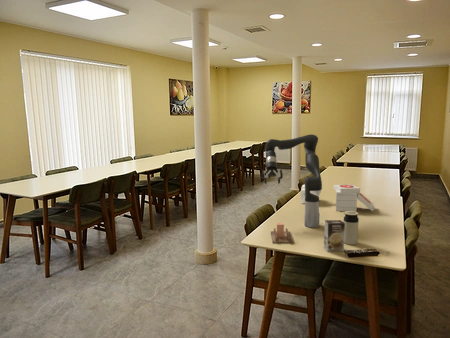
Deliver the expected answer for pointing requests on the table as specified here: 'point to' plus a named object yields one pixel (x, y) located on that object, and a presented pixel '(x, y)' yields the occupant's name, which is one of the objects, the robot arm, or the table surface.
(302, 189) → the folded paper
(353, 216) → the travel mug
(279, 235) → the terracotta block
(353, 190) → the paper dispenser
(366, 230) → the table surface
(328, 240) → the coffee box
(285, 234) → the walnut rack
